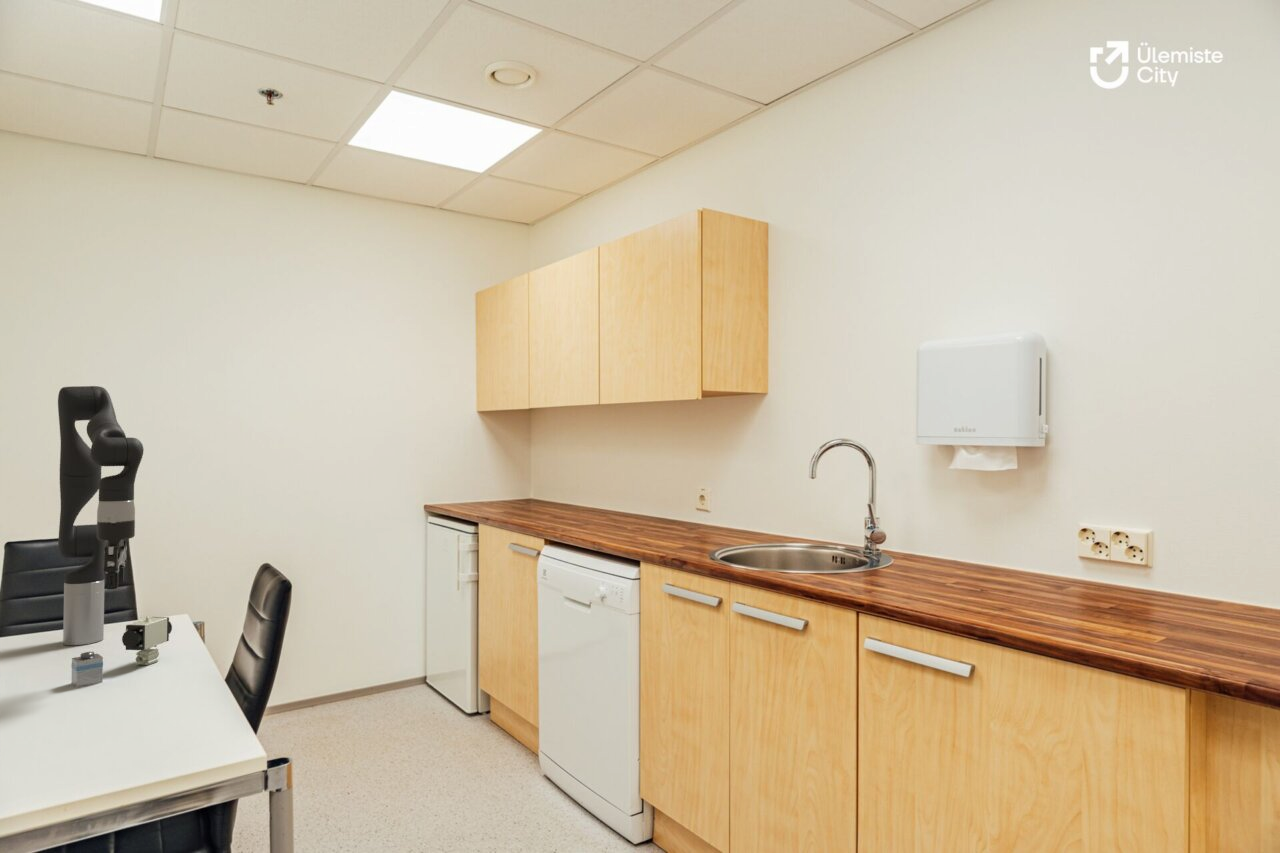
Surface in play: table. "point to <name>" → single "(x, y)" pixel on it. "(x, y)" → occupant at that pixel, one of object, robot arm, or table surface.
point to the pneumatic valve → (147, 638)
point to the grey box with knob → (87, 669)
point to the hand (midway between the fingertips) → (115, 586)
